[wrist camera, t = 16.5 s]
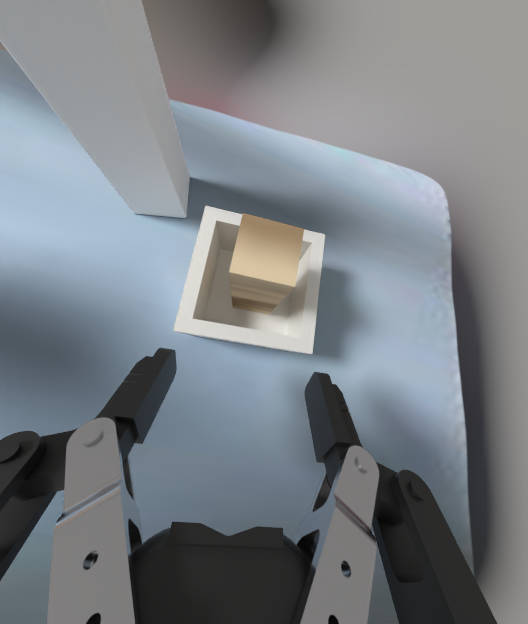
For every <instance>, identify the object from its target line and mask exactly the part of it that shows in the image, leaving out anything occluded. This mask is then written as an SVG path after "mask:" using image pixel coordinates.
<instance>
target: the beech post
mask: <svg viewBox="0 0 528 624" xmlns="http://www.w3.org/2000/svg"><path fill="white" fill-rule="evenodd" d="M303 233H304V229H303V228H299V227H295V226H291V225H288V224H284V223H280V222H276V221H272V220H268V219H265V218H261V217H257V216H253V215H249V214H246V213H243V215H242V219H241V223H240V227H239V232H238V236H237V240H236V244H235V248H234V253H233V257H232V261H231V265H230V270H229V278H230V287H231V296H232V305H233V307H234V308H239V309H244V310H249V311H253V312H258V313H263V314H269V313H270V312H271V311H272V310H273V309H274V308H275V307H276V306H277V305H278V304H279V303H280V302H281V301H282V300H283V299H284V298H285V297H286V296H287V295H288V294H289V293H290V292H291V291H292V290H293V289H294V288H295V285H296V278H297V272H298V265H299V259H300V253H301V246H302V240H303Z"/></svg>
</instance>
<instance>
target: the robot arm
mask: <svg viewBox="0 0 528 624" xmlns="http://www.w3.org/2000/svg"><path fill="white" fill-rule="evenodd" d="M175 374H176V354H175V350H172V349H166V348H159V349H158V350H157V351H156V353H155V354H154V356H153V357H149V356H146V357H145V358H143V359H142V360H140V361H139V362H138V363H136V365H135V366H134V368H133V369H132V370H131V372H130V374H128V376H127V377H126V378H125V380H124V382H122V384H121V385H120V387H119V388H118V389H117V391H116V392H115V393H114V395H113V396H112V397H111V399H110V400H109V402H108V403H107V404H106V406H105V407H104V408H103V410H102V411H101V412H100V414H99V415H98V416H97V417H96V418H94V419H93V420H91V421H89V422H87V423H85V424H83V425H82V426H81V427H79V428H78V429H75V430H72V431H68V432H63V433H58V434H53V435H48V436H43V437H40V436H39V435H38V434H37V433H35V432H33V431H23V432H18V433H15V434H12V435H9V436H7V437H5V438H3V439H1V440H0V581H1V579H2V577H3V576H4V574H5V573H6V571H7V570H8V568H9V566H10V565H11V563H12V562H13V560H14V559H15V557H16V555H17V554H18V552H19V551H20V549H21V547H22V546H23V544H24V543H25V541H26V540H27V538H28V536H29V535H30V533H31V532H32V530H33V529H34V527H35V525H36V524H37V522H38V521H39V519H40V518H41V516H42V514H43V513H44V511H45V510H46V508H47V507H48V505H49V503H50V502H51V500H52V499H53V497H54V496H55V494H56V492H57V491H60V490H64V507H63V513H62V515H61V517H60V518H59V519H58V520H57V523H56V526H55V530H54V536H53V549H52V563H51V577H50V592H49V606H48V620H47V624H367V620H368V613H369V605H370V597H371V590H372V582H373V574H374V567H375V559H376V551H377V545H376V541H377V544H378V548H379V552H380V555H381V559H382V563H383V566H384V570H385V573H386V577H387V581H388V584H389V588H390V592H391V595H392V599H393V603H394V606H395V610H396V613H397V617H398V621H399V624H497V622H496V620H495V618H494V616H493V614H492V612H491V610H490V608H489V606H488V604H487V602H486V600H485V598H484V596H483V594H482V592H481V590H480V588H479V586H478V585H477V582H476V580H475V578H474V576H473V574H472V572H471V570H470V568H469V566H468V564H467V562H466V560H465V558H464V556H463V554H462V552H461V550H460V548H459V546H458V544H457V542H456V540H455V538H454V536H453V534H452V532H451V530H450V528H449V526H448V524H447V522H446V520H445V518H444V516H443V514H442V512H441V510H440V508H439V506H438V504H437V502H436V500H435V498H434V496H433V494H432V493H431V491H430V489H429V488H428V486H427V485H426V483H425V482H424V481H423V480H422V479H421V478H420V477H419V476H418V475H416V474H415V473H413V472H411V471H409V470H402V471H400V472H399V473H397V472H395V471H393V470H391V469H389V468H387V467H385V466H383V465H381V464H379V463H377V462H375V460H374V458H373V457H372V456H371V454H370V453H369V452H368V451H366V450H365V449H364V448H363V447H362V445H361V443H360V440H359V437H358V435H357V432H356V429H355V427H354V424H353V421H352V418H351V416H350V413H349V412H348V411H349V410H348V407H347V405H346V402H345V399H344V397H343V394H342V392H341V391H340V389H339V388H338V387H337V385H335V384H332V382H331V379H330V376H329V375H328V374H326V373H319V372H314V373H313V375H312V377H311V379H310V380H309V382H308V384H307V386H306V388H305V400H306V406H307V411H308V417H309V422H310V428H311V433H312V439H313V444H314V450H315V455H316V461H317V462H322V463H325V468H326V470H325V471H324V473H323V476H322V478H321V481H320V484H319V486H318V489H317V491H316V494H315V497H314V499H313V502H312V504H311V507H310V509H309V512H308V514H307V515H306V517H305V518H304V520H303V522H302V523H301V525H300V528H299V530H298V532H297V535H296V537H295V540H294V542H293V541H292V540H290V539H289V538H287V537H286V536H284V535H283V528H272V527H254V528H252V529H249V530H246V531H243V532H240V533H237V534H234V535H232V536H226V535H224V534H222V533H219V532H217V531H215V530H213V529H211V528H209V527H207V526H205V525H203V524H201V523H186V522H172V525H171V528H168V529H165V530H163V531H161V532H159V533H157V534H155V535H154V536H152V537H151V538H149V539H148V540H147V541H146V542H144V539H143V533H142V526H141V520H140V515H139V510H138V506H137V503H136V498H135V492H134V485H133V479H132V472H131V465H130V459H129V453H130V451H131V449H132V447H133V445H134V443H140V444H142V443H143V441H144V439H145V437H146V435H147V433H148V431H149V429H150V427H151V425H152V423H153V421H154V419H155V417H156V414H157V412H158V410H159V408H160V406H161V404H162V402H163V400H164V398H165V396H166V394H167V392H168V390H169V388H170V385H171V383H172V381H173V379H174V377H175ZM371 525H372V526H373V530H374V534H375V537H376V539H375V537H374V535H373V534H372V532H371Z"/></svg>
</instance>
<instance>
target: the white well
mask: <svg viewBox="0 0 528 624" xmlns="http://www.w3.org/2000/svg"><path fill="white" fill-rule="evenodd" d="M242 215H243V214H238V213H234V212H230V211H226V210H222V209H218V208H214V207H210V206H205V210H204V214H203V217H202V221H201V225H200V229H199V233H198V237H197V240H196V244H195V248H194V252H193V256H192V260H191V263H190V267H189V271H188V275H187V279H186V283H185V286H184V290H183V294H182V298H181V302H180V306H179V310H178V313H177V317H176V321H175V325H174V329H173V331H176V332H180V333H184V334H188V335H193V336H199V337H205V338H211V339H217V340H223V341H229V342H235V343H241V344H247V345H253V346H258V347H264V348H270V349H276V350H282V351H288V352H296V353H305V354H312V353H313V344H314V334H315V325H316V316H317V306H318V297H319V288H320V278H321V269H322V260H323V250H324V241H325V234H321V233H317V232H313V231H309V230H304V233H303V240H302V246H301V253H300V259H299V265H298V272H297V278H296V285H295V288H294V289H293V290H292V291H291V292H290V293H289V294H288V295H287V296H286V297H285V298H284V299H283V300H282V301H281V302H280V303H279V304H278V305H277V306H276V307H275V308H274V309H273V310H272V311H271V312H270V313H269V314H263V313H258V312H253V311H249V310H244V309H239V308H234V307H233V305H232V296H231V287H230V278H229V270H230V265H231V261H232V257H233V253H234V248H235V244H236V240H237V236H238V232H239V227H240V223H241V219H242Z"/></svg>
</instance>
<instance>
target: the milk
mask: <svg viewBox="0 0 528 624" xmlns="http://www.w3.org/2000/svg"><path fill="white" fill-rule="evenodd" d="M0 42H1V43H2V44H3V45H4V47H5V48H6V49H7V51H8V52H9V53H10V54H11V56H12V57H13V58H14V60H15V61H16V62H17V63H18V65H19V66H20V67H21V69H22V70H23V71H24V73H25V74H26V75H27V76H28V78H29V79H30V80H31V82H32V83H33V84H34V85H35V87H36V88H37V89H38V91H39V92H40V93H41V94H42V96H43V97H44V98H45V100H46V101H47V102H48V103H49V105H50V106H51V107H52V109H53V110H54V111H55V113H56V114H57V115H58V116H59V118H60V119H61V120H62V122H63V123H64V124H65V125H66V127H67V128H68V129H69V131H70V132H71V133H72V134H73V136H74V137H75V138H76V140H77V141H78V142H79V143H80V145H81V146H82V147H83V149H84V150H85V151H86V152H87V154H88V155H89V156H90V158H91V159H92V160H93V162H94V163H95V164H96V165H97V167H98V168H99V169H100V171H101V172H102V173H103V174H104V176H105V177H106V178H107V180H108V181H109V182H110V183H111V185H112V186H113V187H114V189H115V190H116V191H117V192H118V194H119V195H120V196H121V198H122V199H123V200H124V201H125V203H126V204H127V205H128V207H129V208H130V209H131V211H132V212H133V213H135V214H146V215H157V216H168V217H179V218H186V217H187V206H188V194H189V182H190V175H189V171H188V168H187V164H186V160H185V157H184V153H183V150H182V146H181V142H180V139H179V135H178V132H177V128H176V124H175V121H174V117H173V113H172V110H171V106H170V103H169V99H168V95H167V92H166V88H165V85H164V81H163V77H162V74H161V70H160V66H159V63H158V59H157V56H156V52H155V48H154V45H153V41H152V37H151V34H150V31H149V27H148V23H147V19H146V16H145V12H144V8H143V5H142V1H141V0H0Z"/></svg>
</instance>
